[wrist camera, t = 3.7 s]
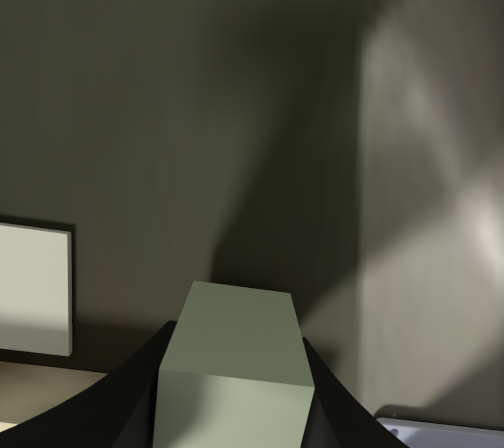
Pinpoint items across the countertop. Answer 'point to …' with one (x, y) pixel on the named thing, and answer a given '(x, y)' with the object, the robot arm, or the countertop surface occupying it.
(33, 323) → the grey pad
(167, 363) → the block
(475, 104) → the countertop surface
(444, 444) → the robot arm
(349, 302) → the countertop surface
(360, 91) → the countertop surface
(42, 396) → the ash board
